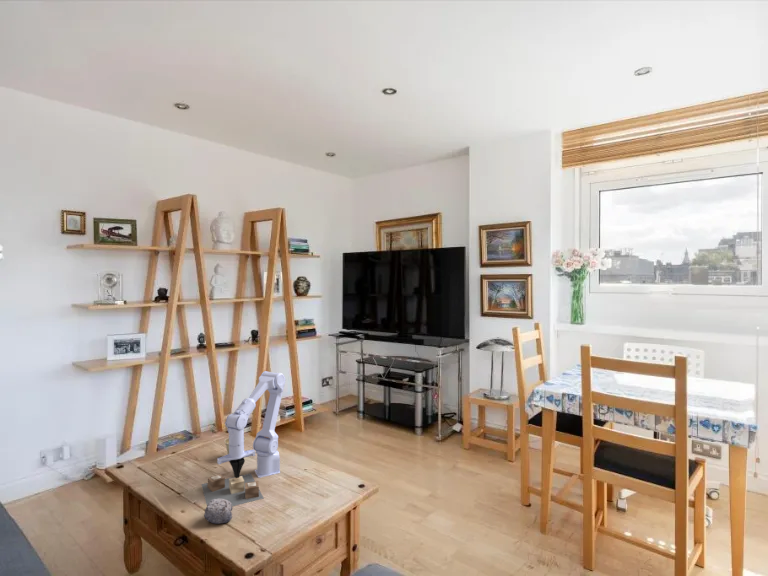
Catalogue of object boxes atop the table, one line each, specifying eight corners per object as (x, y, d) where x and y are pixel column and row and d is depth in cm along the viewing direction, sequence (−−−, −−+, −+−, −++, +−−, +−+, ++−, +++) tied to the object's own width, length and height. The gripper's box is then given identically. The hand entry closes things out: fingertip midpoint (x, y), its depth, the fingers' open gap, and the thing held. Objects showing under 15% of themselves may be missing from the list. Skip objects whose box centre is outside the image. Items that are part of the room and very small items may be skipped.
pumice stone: (238, 523, 151) (220, 508, 156) (242, 504, 150) (225, 489, 155) (214, 537, 143) (196, 521, 147) (218, 517, 141) (200, 501, 146)
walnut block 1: (219, 483, 175) (219, 473, 175) (224, 487, 172) (224, 477, 171) (207, 487, 172) (207, 477, 172) (212, 491, 168) (212, 481, 168)
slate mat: (250, 474, 184) (250, 473, 184) (263, 499, 163) (263, 498, 163) (201, 485, 174) (201, 484, 174) (208, 513, 154) (208, 512, 154)
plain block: (241, 485, 173) (241, 476, 173) (244, 490, 169) (244, 481, 169) (229, 488, 171) (229, 478, 171) (231, 494, 166) (231, 484, 166)
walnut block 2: (258, 490, 169) (258, 480, 169) (258, 496, 164) (258, 486, 164) (245, 492, 167) (245, 482, 167) (245, 499, 163) (245, 488, 163)
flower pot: (241, 462, 196) (241, 443, 196) (221, 461, 196) (221, 443, 196) (248, 453, 206) (247, 436, 205) (228, 453, 206) (228, 436, 206)
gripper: (251, 436, 177) (251, 468, 177) (215, 444, 169) (215, 477, 169) (256, 442, 171) (257, 474, 171) (219, 450, 163) (220, 485, 163)
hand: (236, 476), depth 170 cm, fingers closed
